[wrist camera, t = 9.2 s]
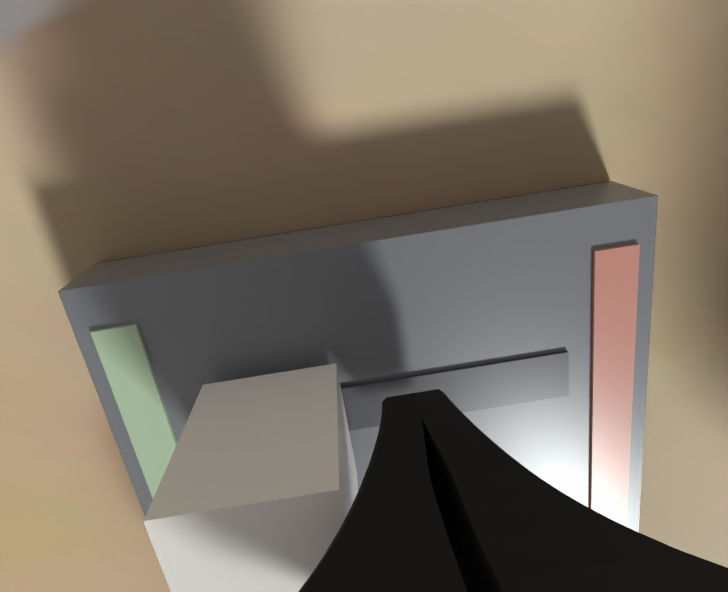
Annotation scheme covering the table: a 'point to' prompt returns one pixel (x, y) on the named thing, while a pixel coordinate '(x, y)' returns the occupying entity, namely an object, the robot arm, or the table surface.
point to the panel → (402, 330)
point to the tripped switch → (255, 484)
